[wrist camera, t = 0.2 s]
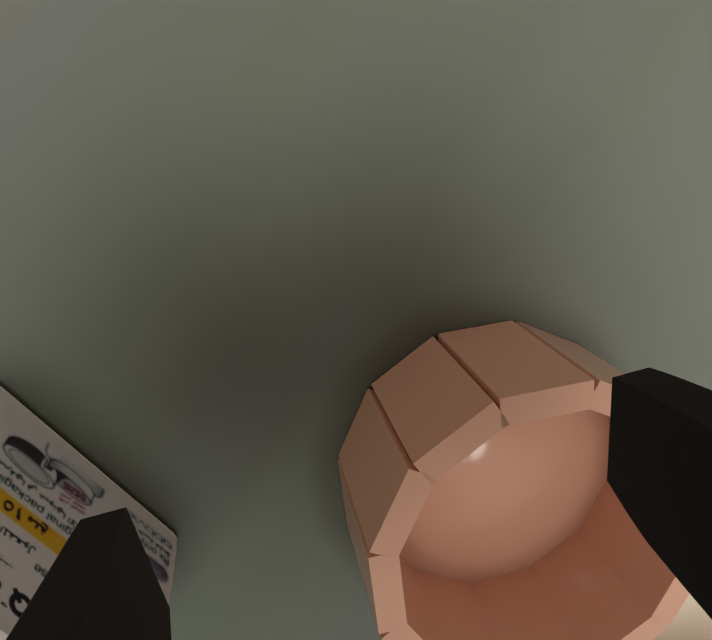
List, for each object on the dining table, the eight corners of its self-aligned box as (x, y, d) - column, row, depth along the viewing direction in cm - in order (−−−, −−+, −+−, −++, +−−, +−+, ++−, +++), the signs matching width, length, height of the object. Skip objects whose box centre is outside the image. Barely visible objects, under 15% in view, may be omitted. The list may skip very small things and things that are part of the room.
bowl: (538, 606, 25) (611, 721, 20) (296, 549, 22) (314, 667, 17) (665, 377, 23) (779, 446, 18) (415, 281, 20) (472, 333, 15)
